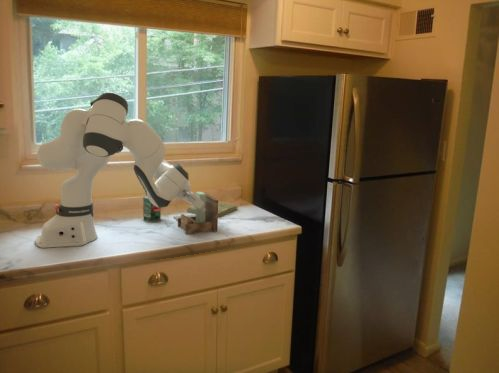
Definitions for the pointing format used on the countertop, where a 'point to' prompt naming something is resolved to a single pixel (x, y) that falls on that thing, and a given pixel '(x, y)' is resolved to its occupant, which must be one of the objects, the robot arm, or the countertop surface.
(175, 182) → the robot arm
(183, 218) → the offcut stack
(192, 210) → the decorative tile
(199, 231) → the walnut rack
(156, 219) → the canned tomato
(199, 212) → the pale green block
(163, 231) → the countertop surface
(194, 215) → the grey mat
